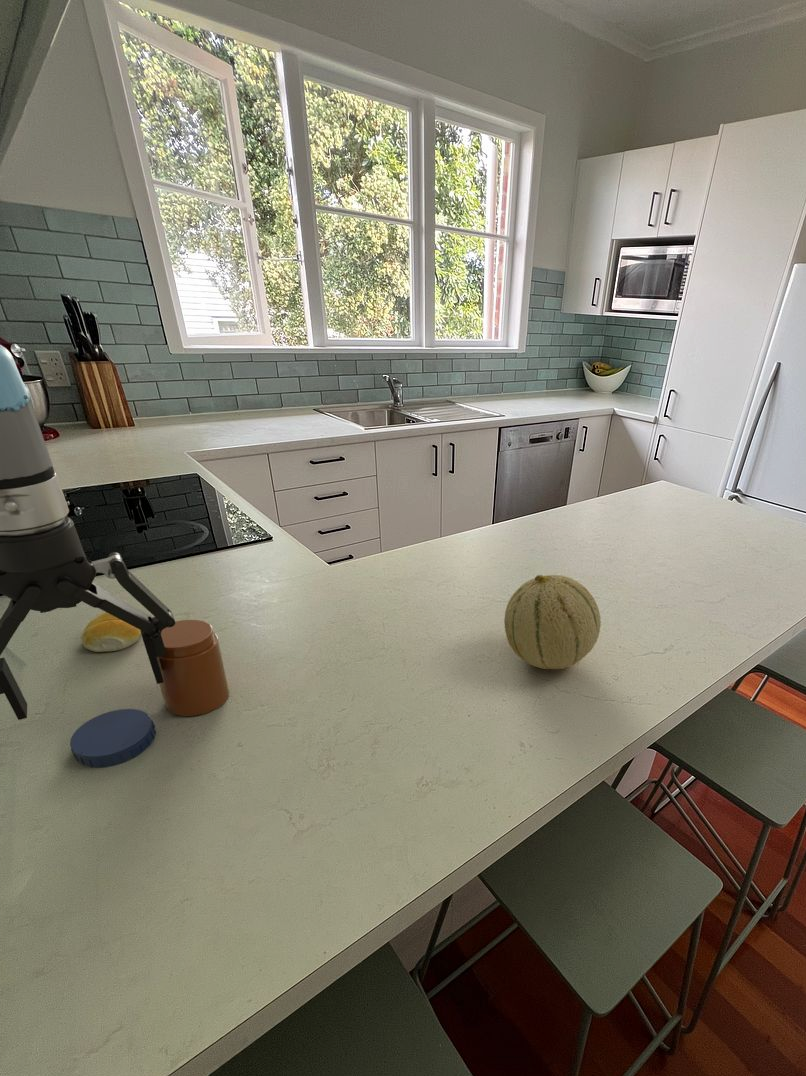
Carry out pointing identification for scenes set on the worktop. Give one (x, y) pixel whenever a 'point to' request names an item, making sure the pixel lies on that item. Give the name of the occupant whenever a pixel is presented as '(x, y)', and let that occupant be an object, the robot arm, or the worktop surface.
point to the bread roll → (109, 634)
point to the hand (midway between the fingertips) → (94, 694)
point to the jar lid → (112, 738)
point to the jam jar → (192, 669)
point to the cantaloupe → (552, 622)
